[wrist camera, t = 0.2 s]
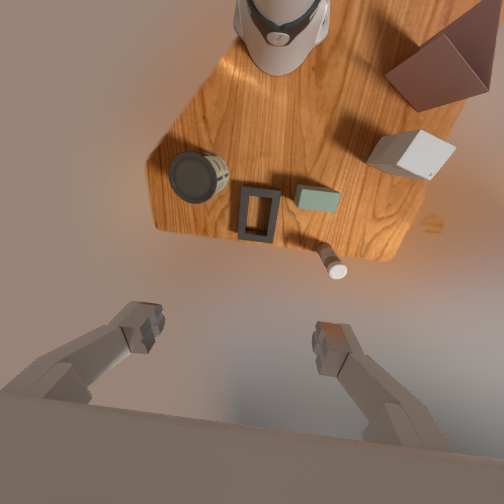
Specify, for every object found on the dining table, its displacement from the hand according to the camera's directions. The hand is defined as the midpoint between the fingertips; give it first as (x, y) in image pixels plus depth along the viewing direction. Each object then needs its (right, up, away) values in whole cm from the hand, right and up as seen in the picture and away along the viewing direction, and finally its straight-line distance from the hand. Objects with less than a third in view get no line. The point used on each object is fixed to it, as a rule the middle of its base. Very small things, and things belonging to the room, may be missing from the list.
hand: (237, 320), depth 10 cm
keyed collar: (+3, +15, +45) cm, 48 cm away
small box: (+34, +27, +36) cm, 57 cm away
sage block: (+17, +20, +42) cm, 49 cm away
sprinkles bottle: (+24, +5, +49) cm, 55 cm away
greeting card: (+34, +39, +30) cm, 60 cm away
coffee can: (-11, +25, +41) cm, 50 cm away
